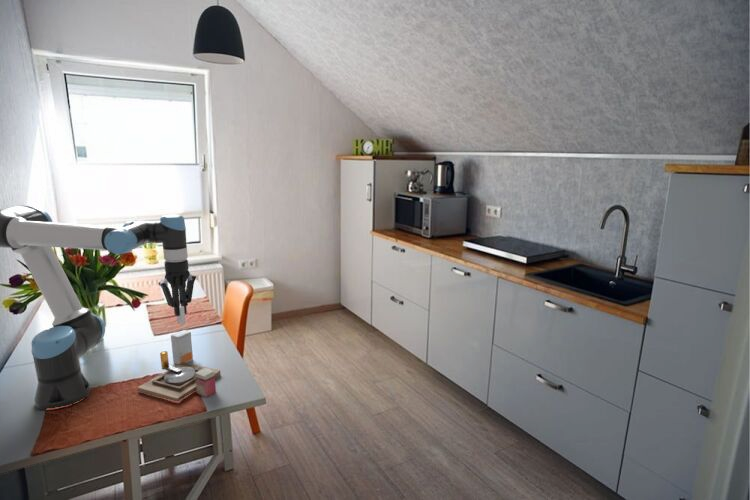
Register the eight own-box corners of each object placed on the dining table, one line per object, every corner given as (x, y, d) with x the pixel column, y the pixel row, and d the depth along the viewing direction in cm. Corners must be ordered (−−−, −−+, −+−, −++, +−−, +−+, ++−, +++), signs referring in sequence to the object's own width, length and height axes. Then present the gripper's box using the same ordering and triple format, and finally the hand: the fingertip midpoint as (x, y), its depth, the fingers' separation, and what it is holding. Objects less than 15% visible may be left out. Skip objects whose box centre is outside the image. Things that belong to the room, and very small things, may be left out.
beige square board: (177, 404, 143) (176, 395, 142) (138, 392, 149) (137, 384, 149) (220, 375, 161) (220, 368, 160) (183, 366, 167) (182, 359, 167)
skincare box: (180, 366, 167) (177, 337, 165) (173, 363, 170) (170, 334, 167) (193, 359, 172) (191, 331, 170) (187, 357, 175) (184, 329, 172)
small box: (196, 393, 149) (194, 372, 147) (206, 387, 152) (204, 367, 151) (206, 397, 146) (204, 376, 144) (216, 391, 150) (214, 370, 148)
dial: (201, 375, 156) (199, 355, 154) (176, 388, 148) (174, 367, 146) (176, 365, 163) (174, 346, 161) (151, 377, 155) (148, 357, 153)
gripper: (187, 254, 159) (192, 315, 164) (151, 261, 148) (158, 326, 154) (199, 257, 154) (203, 320, 159) (163, 265, 144) (169, 331, 149)
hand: (181, 323), depth 157 cm, fingers closed
